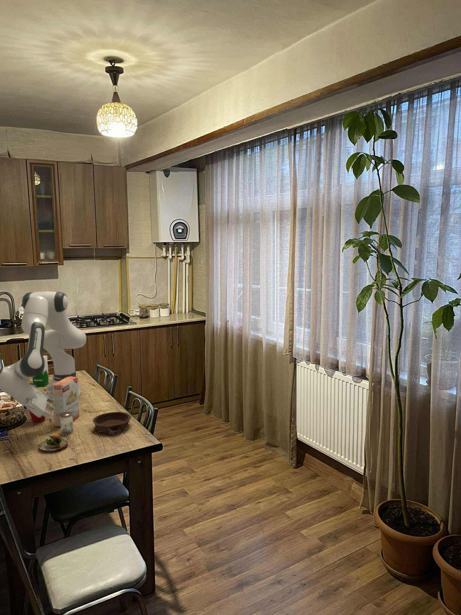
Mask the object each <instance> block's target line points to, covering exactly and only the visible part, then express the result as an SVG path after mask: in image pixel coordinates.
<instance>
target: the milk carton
mask: <svg viewBox="0 0 461 615" xmlns="http://www.w3.org/2000/svg"><path fill="white" fill-rule="evenodd" d="M43 357H44V361H45V367H44V370H43V371H42V372H41V373H40V374H39V375H36V376H34V377H33V378H31V379H32V385H35V386H36V387H37V388H41V387H42V388H44V387H46V386H48V384H49V383H50V382H49V380H50V379H49V366H48V355H43Z"/></svg>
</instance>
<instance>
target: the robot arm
mask: <svg viewBox="0 0 461 615" xmlns="http://www.w3.org/2000/svg"><path fill="white" fill-rule="evenodd" d="M68 299H69V298H68V296H67V294H65V292H63V291H47V290H45V291H36V292H35V291H34V292H33V291H30V292H27V293H26V292H25V294H24V295H23V296H22V299H21V306H22V308H23V314H22V318H21V329H22V331H23V332H24V333H25V334H26V335H28V344H27V351H26V353H25V354H24V356H22V358H20V359H19V360H18V361H16V362H15V363H13V364H10V365H7V366H3V367H1V368H0V390H1V391H2V392H4V393H5V394H6V395H8V396H10V397H12V399H13V400H14V401H16V402H17V403H19V404H20V405H21V406H23V407H24V406H26V408H27V410H28V411H29V410H30V411H31V412H32V413H33V414H35V415H36V416H37V417H41V416H42V415H43V416H45V418H48V419H49V420H51V419H52V418H54V414H52V412H54V407H53V406H52V405H51V404H50V402H48V400H49V401H52V402H53V389H52V385H53V384H55V383H57V382H59V381H61V380H63V379H64V378H66V377H77V371H76V367H75V366H76V364H75V362H76V361H75V358H74V357H73V356H72V355H71V354H69V353H67V352H66V351H65V350H73V349H79V348H83V347H84V346H85V344H86V343H87V335H86V332H84V331H83V330H82V329H79V328H78V327H77V326H75V325H74V324H73V323H72V322H71V320H70V319H69V316H68V312H67V308H68V305H69V301H68ZM47 326H48V328H49V329H48V330H46V327H47ZM44 350H45V351H46V352H47V353H48V354H49V355H50V357H51V360H52V363H53V370H54V372H53V373H52V375H53V376H52V377H53V378H52V380H51V381H50V382H49V383H48V384H47V387H46V390H47V391H45V392H42V391H41V390H39V389H38V387H36V386H35V385H33V384H30V383H29V380H31V379H32V378H33V377H34V376H36V375H39V374H40V373H41V372H42V371H43V370H44V367H45V361H44V357H43V356H44V353H43V352H44ZM79 383H80V382H79V381H78V396H80V394H82V392H83V391H82V390H80V384H79ZM44 394H46V395H48V398H47V397H46V396H45V395H44ZM47 410H48V411H49V412H48V411H47Z"/></svg>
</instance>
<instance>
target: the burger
mask: <svg viewBox="0 0 461 615" xmlns="http://www.w3.org/2000/svg"><path fill="white" fill-rule="evenodd" d="M68 447H69V442H68V440H67V439H65V438H62V437H61V435H60V434H59V433H57V432H56V433H53V434H50V435H49V438H46V439H45V440H44V441H43V442H41V443H39V445H38V449H39V450H42V451H45V452H54V451H57V450H59V451H60V452H63V451H64V450H65V449H66V448H68Z"/></svg>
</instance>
